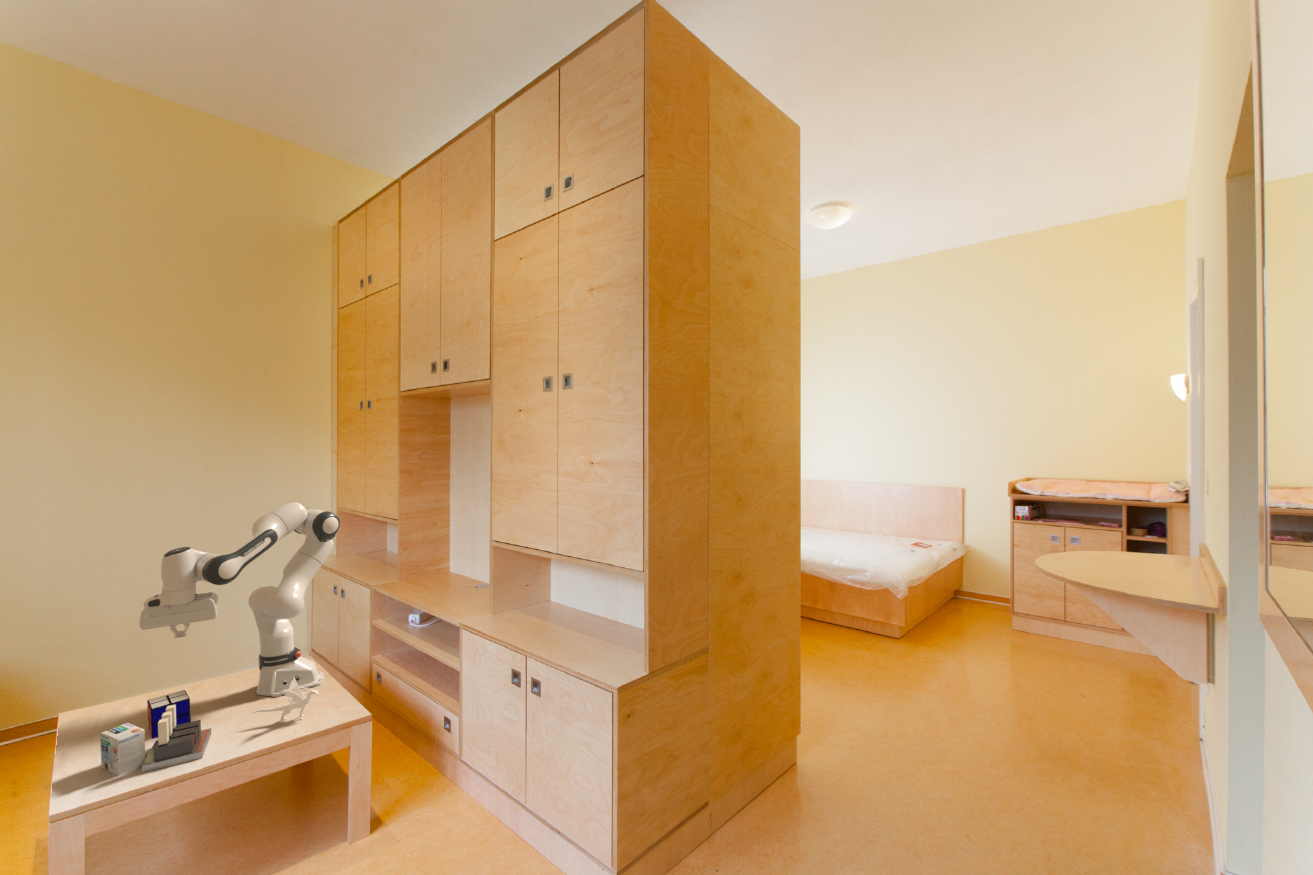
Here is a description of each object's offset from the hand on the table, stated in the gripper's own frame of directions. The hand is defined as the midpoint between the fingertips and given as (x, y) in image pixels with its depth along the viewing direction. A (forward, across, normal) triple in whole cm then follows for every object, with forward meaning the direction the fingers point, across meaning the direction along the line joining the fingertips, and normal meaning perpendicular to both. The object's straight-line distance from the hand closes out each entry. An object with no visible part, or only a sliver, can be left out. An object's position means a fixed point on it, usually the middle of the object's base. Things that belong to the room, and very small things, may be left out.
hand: (180, 636), depth 191 cm
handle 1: (+25, +1, +24) cm, 34 cm away
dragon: (+31, -30, +14) cm, 45 cm away
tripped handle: (+25, +1, +19) cm, 31 cm away
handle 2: (+25, +1, +14) cm, 28 cm away
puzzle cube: (+31, +4, -2) cm, 32 cm away
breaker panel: (+31, -2, +19) cm, 36 cm away
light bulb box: (+31, +11, +19) cm, 38 cm away
